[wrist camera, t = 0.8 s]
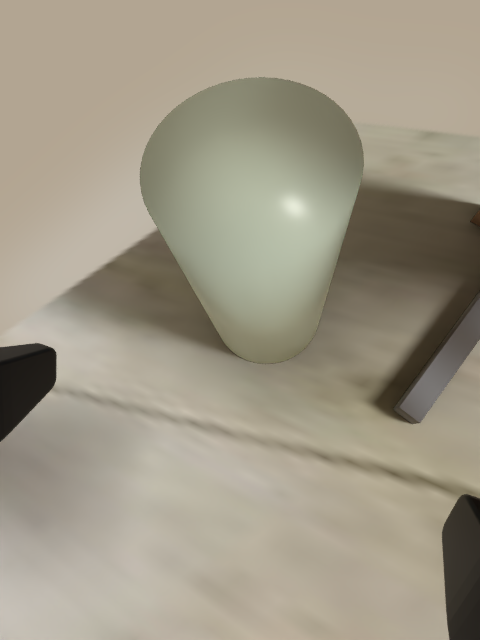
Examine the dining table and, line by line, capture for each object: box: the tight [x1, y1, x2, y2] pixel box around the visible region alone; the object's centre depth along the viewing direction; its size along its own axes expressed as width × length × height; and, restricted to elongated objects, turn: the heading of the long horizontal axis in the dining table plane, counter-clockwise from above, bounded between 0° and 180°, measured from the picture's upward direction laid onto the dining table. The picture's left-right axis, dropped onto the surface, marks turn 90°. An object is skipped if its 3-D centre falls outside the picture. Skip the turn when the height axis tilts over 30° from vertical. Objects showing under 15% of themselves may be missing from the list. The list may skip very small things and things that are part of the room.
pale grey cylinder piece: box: [140, 77, 364, 364], centre depth 17 cm, size 6×6×13 cm
